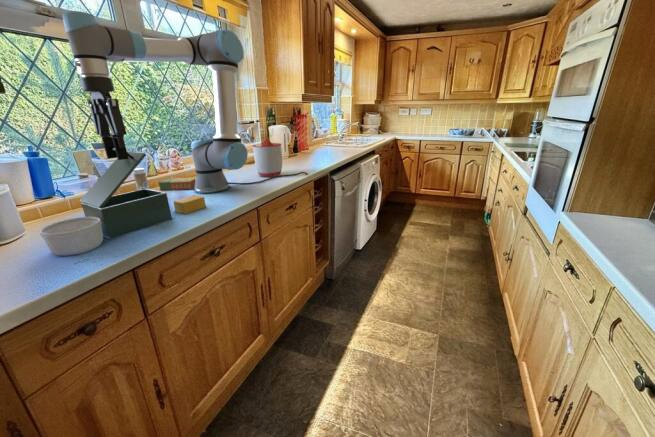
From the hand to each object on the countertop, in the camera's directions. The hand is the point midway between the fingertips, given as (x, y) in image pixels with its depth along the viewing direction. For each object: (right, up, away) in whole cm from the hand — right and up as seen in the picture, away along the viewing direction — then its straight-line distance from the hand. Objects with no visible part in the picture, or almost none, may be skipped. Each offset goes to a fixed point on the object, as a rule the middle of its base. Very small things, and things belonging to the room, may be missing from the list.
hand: (118, 158), depth 94 cm
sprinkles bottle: (-13, -11, +36) cm, 40 cm away
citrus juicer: (+32, +6, +76) cm, 83 cm away
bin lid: (-1, -6, 0) cm, 6 cm away
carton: (-7, -4, +55) cm, 55 cm away
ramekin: (-4, -27, -9) cm, 29 cm away
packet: (+13, -15, +21) cm, 29 cm away
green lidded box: (0, -21, +7) cm, 22 cm away
